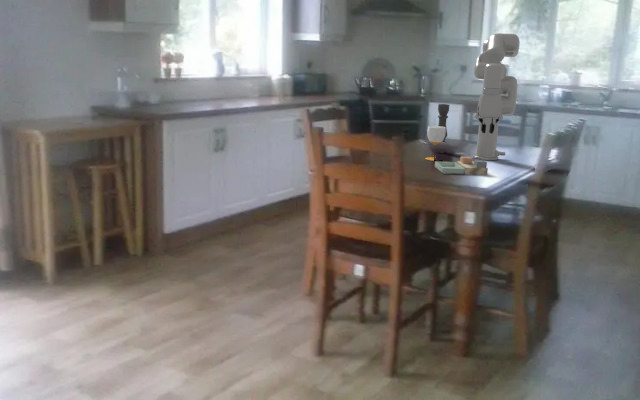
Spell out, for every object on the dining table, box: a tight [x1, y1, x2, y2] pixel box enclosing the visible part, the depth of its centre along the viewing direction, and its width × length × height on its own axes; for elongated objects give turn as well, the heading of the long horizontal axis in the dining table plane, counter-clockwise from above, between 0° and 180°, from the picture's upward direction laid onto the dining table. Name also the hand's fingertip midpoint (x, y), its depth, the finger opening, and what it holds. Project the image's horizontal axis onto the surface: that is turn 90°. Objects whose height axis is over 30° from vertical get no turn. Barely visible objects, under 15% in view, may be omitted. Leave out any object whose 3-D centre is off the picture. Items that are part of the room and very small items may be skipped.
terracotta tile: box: [459, 155, 474, 164], centre depth 309 cm, size 4×4×2 cm
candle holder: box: [437, 103, 450, 143], centre depth 352 cm, size 6×6×25 cm
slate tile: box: [473, 159, 488, 168], centre depth 300 cm, size 4×4×2 cm
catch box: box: [434, 161, 465, 175], centre depth 305 cm, size 10×16×2 cm, turn 3°
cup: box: [424, 125, 447, 162], centre depth 330 cm, size 9×9×16 cm
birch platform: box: [456, 160, 488, 176], centre depth 305 cm, size 10×16×3 cm, turn 3°
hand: (487, 132), depth 306 cm, fingers open, 2 cm apart
